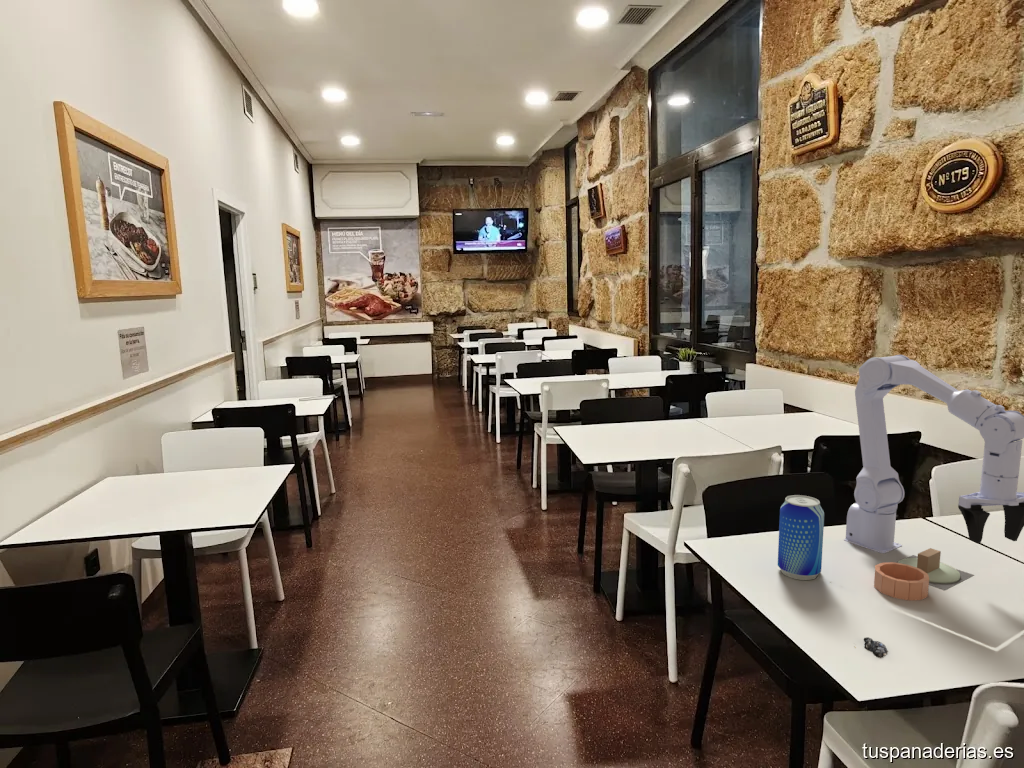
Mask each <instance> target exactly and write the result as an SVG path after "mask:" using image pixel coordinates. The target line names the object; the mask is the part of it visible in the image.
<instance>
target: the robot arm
mask: <svg viewBox="0 0 1024 768" xmlns="http://www.w3.org/2000/svg"><path fill="white" fill-rule="evenodd" d="M858 374H859V375H858V376H859V378H858V381H857V383H856V385H855V389H854V396H855V406H856V407H855V408H856V415H857V423H858V433H859V442H860V450H861V458H862V466H863V467H862V468H861V470H860V472H859V473H858V474H857V476H856V478H855V479H856V486H855V488H854V491H853V492H854V493H853V496H854V500H855V502H854V503H853V504H851V505H850V507H849V508H848V511H847V515H846V527H845V538H843V541H845V542H847V543H851V544H853V545H857V546H859V547H861V548H862V547H863V548H866V549H868V550H872V551H873V552H877V553H880V554H886V553H889V552H891V551H894V550H896V549H899V548H901V547H902V546H903V544H901V543H897V542H895V535H896V534H895V533H896V521H897V520H896V519H897V510H898V504H900V503H901V502H903V500H904V498H905V489H904V486H903V485H902V483H901V481H900V477H899V473H898V472H897V471H896V469H894V468H893V467H892V466H891V459H890V449H889V441H888V431H887V423H886V422H887V421H886V414H885V405H884V398H885V397H886V396H887V394H888V393H890V392H891V391H892V390H893V389H894V388H896V387H898V386H900V385H906V386H907V385H910V386H913V387H915V388H918V389H919V390H920V391H922V392H924V393H926V394H928V395H930V396H932V397H934V398H935V399H938V400H939V401H941V402H943V403H945V404H946V406H947V410H948V412H949V413H950V414H951V415H953V416H955V417H956V418H958V419H960V420H961V421H962V422H965V423H967V424H968V425H969V426H971V427H973V428H975V429H976V430H978V431H979V435H980V436H981V437H982V439H983V441H984V449H983V458H982V467H981V475H980V476H981V477H980V485H979V491H976V492H972V493H969V494H964V495H959V496H958V504H957V507H958V510H959V511H960V513H961V515H962V517H963V519H964V521H965V525H966V529H967V532H968V539H969V541H972V542H974V543H976V544H981V543H982V540H983V536H984V530H985V526H986V524H987V523H986V522H987V520H988V519H989V517H990V515H991V513H990V512H988V511H986V510H984V508H983V507H990V506H992V507H993V506H995V507H996V506H1002V508H1003V512H1004V530H1003V532H1004V538H1006V539H1008V540H1009V541H1012V542H1017V541H1018V538H1019V536H1020V534H1021V532H1022V531H1023V529H1024V492H1022V491H1021V492H1020V491H1018V487H1019V486H1018V484H1019V477H1020V467H1021V459H1022V458H1021V457H1022V446H1023V439H1024V414H1022V413H1021V412H1020V411H1018V410H1005V408H1006V407H1004V406H1003V405H1001V404H995V403H993V402H992V401H990V400H988V399H986V398H985V397H983V396H981V395H982V393H983V392H980V390H977V389H973V390H970V389H962V390H961V389H960V390H958V389H957V388H955V387H954V386H952V385H951V384H949V383H948V382H946V381H944V380H943V379H942V378H940V377H939V376H937V375H936V374H934V373H932V372H930V371H929V369H928V370H927V369H926V368H924V367H923V366H922V365H921V364H920V363H919V362H918V361H917V360H914V359H910V357H908V356H907V355H904V354H895V355H891V356H883V357H882V356H881V357H877V356H876V357H875V356H873V357H870V358H868V359H867V360H866V361H865V362H863V364H862V365H861V366H859V368H858Z"/></svg>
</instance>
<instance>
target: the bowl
mask: <svg viewBox="0 0 1024 768" xmlns="http://www.w3.org/2000/svg"><path fill="white" fill-rule="evenodd" d="M929 586H930V585H929V576H928V574H927V573H926V572H924V571H923V570H921V569H919V568H916V567H913V566H910V565H907V564H901V563H896V562H895V561H891V562H890V561H889V562H888V561H887V562H886V561H885V562H880V563H878V564H876V565H874V579H873V588H875V589H876V590H877V591H879V593H881V594H884V595H886V596H888V597H891V598H894V599H898V600H905V601H922V600H924V599H926V598H928V597H929Z"/></svg>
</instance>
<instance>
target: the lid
mask: <svg viewBox="0 0 1024 768" xmlns="http://www.w3.org/2000/svg"><path fill="white" fill-rule="evenodd" d="M941 554H942V553H941V550H938V549H935V548H931V547H930V548H928V549H925V550H923V551H921V552H918V553H917V556H918V558H907V557H905V558H902V559H900V560H898V561H897V562H898V563H901V564H907V565H910V566H913V567H916V568H919V569H921V570H923V571H924V572H926V573H927V574H928V576H929V582H931V583H941V584H947V583H954V582H957V581H959V579H960V573H959V572H958V571H957V570H958V569H957V568H955V567H953V566H951V565H949V564H947V563H944V562H941ZM956 569H957V570H956Z"/></svg>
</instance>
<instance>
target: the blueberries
mask: <svg viewBox="0 0 1024 768" xmlns="http://www.w3.org/2000/svg"><path fill="white" fill-rule="evenodd" d="M863 642H864V646H863V647H864V649H866V650H867V651H868V652H869V651H870V652H872V654H873V656H875V657H876V658H884V657H885V656H886V655H888V653H889V650H888V649H887V647H886V645H885V644H884V643H882V642H881V641H879V640H878V641H877V640H873V639H872V638H871V637H864V638H863ZM854 645H855V646H853V647H854V648H855V649H857V647H856V645H857V644H855V643H854Z"/></svg>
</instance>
